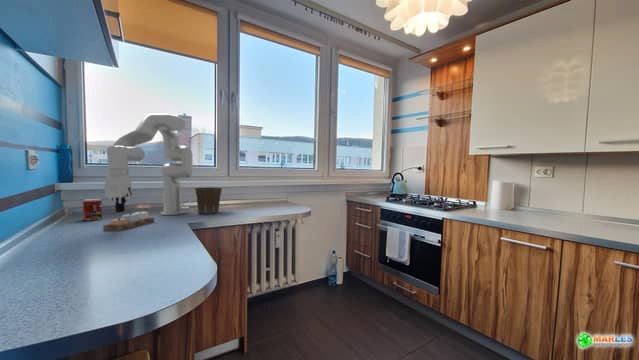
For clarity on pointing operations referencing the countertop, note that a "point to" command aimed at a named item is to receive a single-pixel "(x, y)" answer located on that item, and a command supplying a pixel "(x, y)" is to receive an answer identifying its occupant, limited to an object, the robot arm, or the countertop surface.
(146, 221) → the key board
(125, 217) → the tile two pip
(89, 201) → the canned food
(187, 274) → the countertop surface
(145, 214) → the tile one pip
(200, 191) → the plant pot
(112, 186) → the robot arm
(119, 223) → the tile three pip
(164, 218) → the countertop surface
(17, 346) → the countertop surface
